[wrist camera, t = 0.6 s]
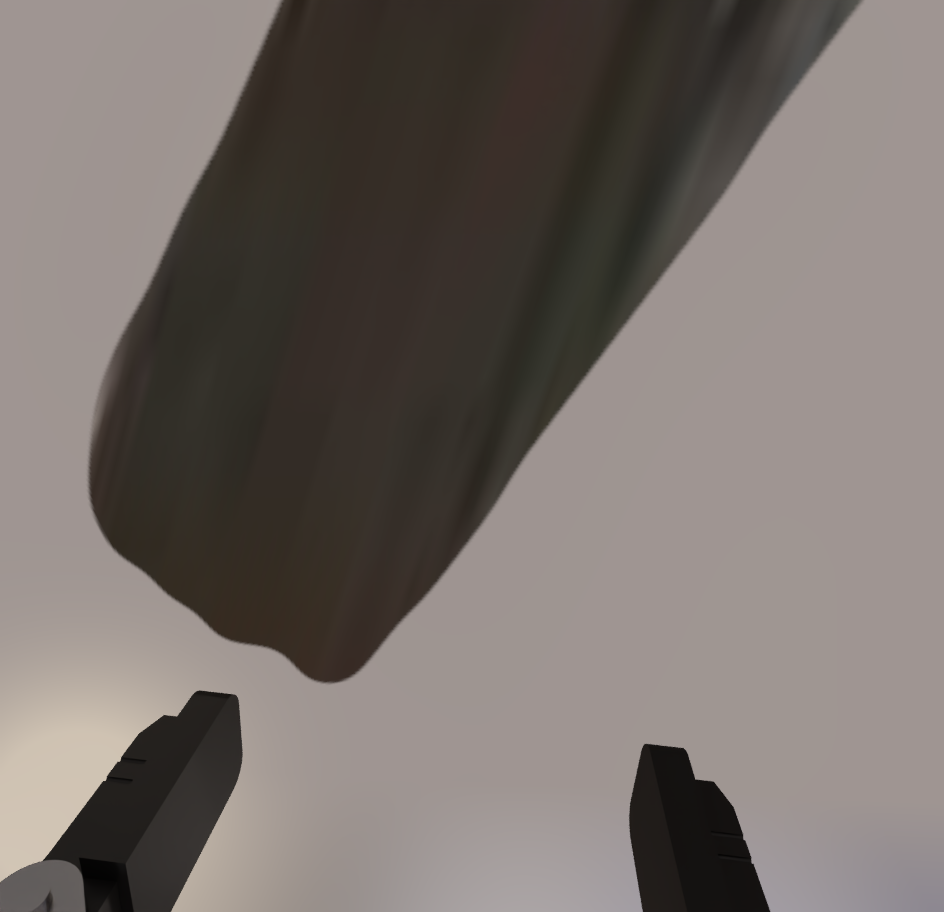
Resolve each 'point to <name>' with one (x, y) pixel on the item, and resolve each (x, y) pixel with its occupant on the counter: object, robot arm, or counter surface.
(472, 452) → the counter surface
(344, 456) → the counter surface
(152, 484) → the counter surface
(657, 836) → the robot arm
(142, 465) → the counter surface
